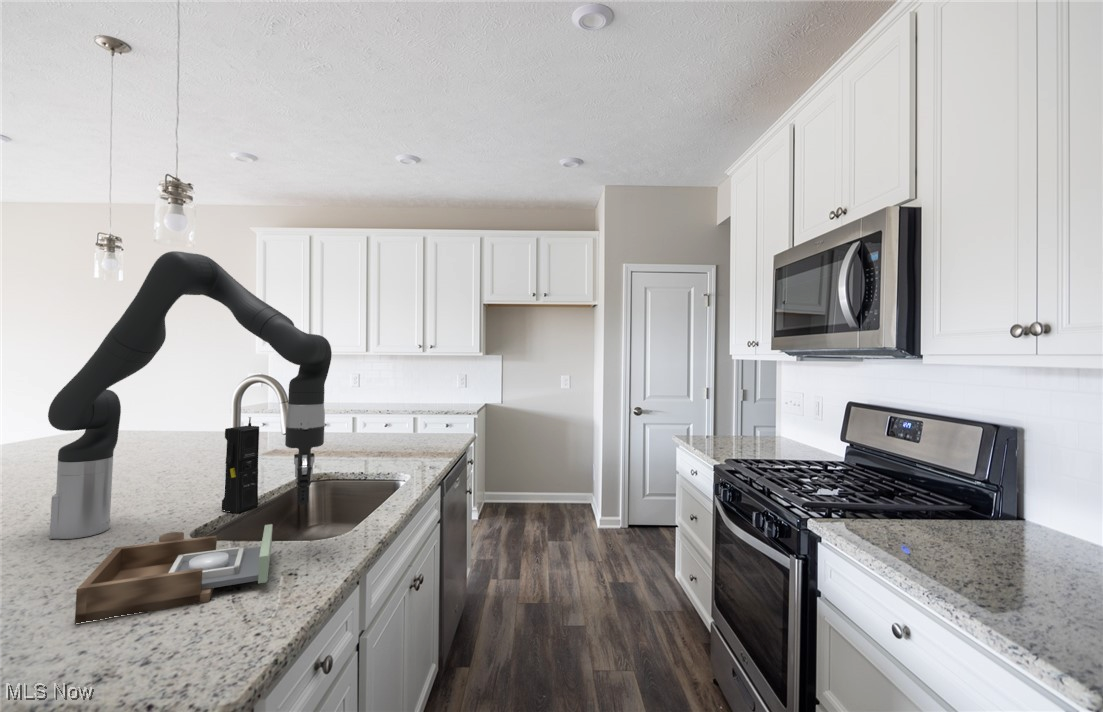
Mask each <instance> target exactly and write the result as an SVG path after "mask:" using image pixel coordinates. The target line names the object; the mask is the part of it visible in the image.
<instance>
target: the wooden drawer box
mask: <svg viewBox="0 0 1103 712" xmlns="http://www.w3.org/2000/svg"><path fill="white" fill-rule="evenodd" d="M217 536H218V535H209V536H200V537H193V538H184V539H183V540H174V541H166V542H159V541H158V542H157V541H156V542H151V543H150V542H149V543H144V544H143V543H142V544H134V545H125V546H115V548H114V549H113V550H112V551H111V552H110V553H109V554H108V555H107V556H106V557H105V558H104V559H103V561H101V562H100V563H99V564H98V566H97V567H96V568H95V569H94V570H93V571H91V573H90V575H88V576H87V577H86V578H85V580H84V581H83V582H82V583H81V584H80V585H79V586H78V587H77V588H76V593H75V594H76V597H75V613H74V615H75V616H74V625H75V624H76V623H81V622H86V621H93V620H100V619H105V618H109V617H114V616H121V615H127V614H134V613H139V612H146V613H149V612H148V611H152V612H157V611H156V610H158V611H163V610H168V609H173V608H174V607H175V608H180V607H185V606H192V605H198V604H202V603H203V604H204V603H208V602H210V600H211V597H212V595H213V592H214V589H215V588H209V589H203V590H202V571H203V568H200V569H193V570H186V571H179V572H172V573H168V572H169V570H170V569H171V567H172V565H173V563H174V562H175V560H176V558H177V557H178V555H182V554H190V553H197V552H205V551H213V550H217V539H218V537H217ZM100 621H101V620H100Z"/></svg>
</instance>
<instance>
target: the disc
mask: <svg viewBox="0 0 1103 712" xmlns="http://www.w3.org/2000/svg"><path fill="white" fill-rule="evenodd" d="M227 565H228V553H225V552H213V553H207V554H203V555H199V556H196V557H194V558H192V559H191V560H190V561H189V570H193V569H200V568H203V571H204V570H211V569H217V568H224V567H226V566H227Z"/></svg>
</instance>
